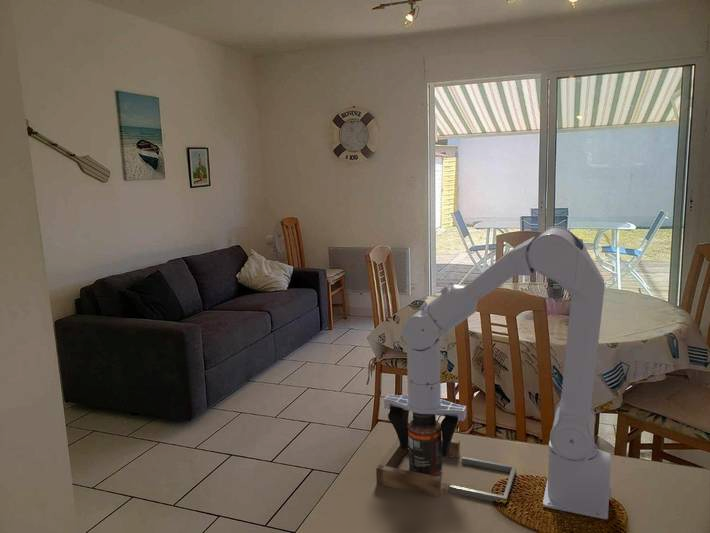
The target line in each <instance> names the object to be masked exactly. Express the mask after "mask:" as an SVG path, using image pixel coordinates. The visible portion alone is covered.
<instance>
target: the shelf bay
mask: <svg viewBox="0 0 710 533" xmlns="http://www.w3.org/2000/svg"><path fill="white" fill-rule="evenodd" d="M441 439H442V436H441ZM460 441H461V440H460V439H456V438H455V439H453V438H452V440H451V443H450V449H449V453H448V455H447V457H450V456H453V457H452V458H455V457H456V458H457V459H459V458H458V457H460V455H461V449H460V448H461V446H460V445H461V442H460ZM408 448H409V444H408V445H407V446H406V448H405V449H401V446H400V442H399V439H398V438H397V439H396V440H395V442H394V443H393V445H392V446H391V447H390V449H388V452H387V453H386V454H385V456H383V458H382V459H381V460H380V462H379V463H378V465H377V466H376V468H375V471H376V472H375V473H376V485H380V486H383V487H389V488H393V489H397V490H402V491H407V492H412V493H416V494H421V495H425V496H428V497H429V496H430V497H435V498H440V496H441V494H442V491H441V490H442V488H441V487H442V484H441V483H442V482H441V478H442V477H441V476H438V475H436V476H432V475H427V474H422V473H417V472H412V471H410V470H407V469H402V468H396V467H397V466H398V464H399V462H400V461H401V460H402V458H403V457H404V455H405V453H407V451H408V450H409V449H408ZM406 450H407V451H406Z"/></svg>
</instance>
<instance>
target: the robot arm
mask: <svg viewBox="0 0 710 533" xmlns="http://www.w3.org/2000/svg"><path fill="white" fill-rule="evenodd" d="M535 272H537V273H538V274H540V275H542V276H543V277H545V278H547V279H549V280H551V281H554V282H555V283H557V284H558V285H559V286H560V287H561V288H562V289H563V290H565V292H567V293H568V294H569V296H570V304H569V314H568V315H569V316H568V327H567V335H566V336H567V337H566V343H565V355H564V364H563V365H564V367H563V374H562V384H561V385H562V386H561V394H560V402H558V404H557V405H556V407H555V410H554V419H553V423H552V429H550V434H549V441H548V463H547V464H548V466H547V467H548V469H547V479H546V483H545V489H544V495H543V499H542V506H543V507H545V508H549V509H553V510H557V511H558V510H559V511H563V512H567V513H573V514H578V515H582V516H586V517H592V518H597V519H601V520H608V519H609V505H610V504H609V502H610V500H612V487H610V486H611V485H610V483H611V462H612V460H611V458H612V457H611V456H612V453H610V452H606V451H603V450H601V449H599V448H598V445H597V444H596V443H595V424H596V418H597V417H596V413H595V412H596V411H595V410H594V408H593V406H592V403H593V402H592V401H593V396H594V395H593V393H594V392H593V391H594V386H595V385H594V383H595V375H596V369H597V368H596V367H597V358H598V350H599V349H598V348H599V340H600V332H601V323H602V314H603V305H604V304H603V303H604V295H605V280H604V277H603V275H602V274H601V272H600V271H599V269H598V267H597V265H596V263H595V262H594V260H593V258H592V257H591V255H590V254H589V252H588V249H587V248H586V245H585V243H584V242H583V240H581V238H579V237H577V236H576V234H574V233H573V232H572V231H570V230H569V229H567V228H565V227H563V226H551V227H547V228H545V229H543V231H541V232H540V233H539V235H538V236H537V238H536V236H532V237H530V238H529V239H527V240H525V241H523V242H521V243H520V244H519V245H517V246H515V247H513V248H512V249H510V250H509V251H508V252H506V253H505V254H504V255H502V256H501V257H500V258H499V259H498V260H496V261H495V262H494V263H492V265H490V266H489V267H488V268H486V269H485V270H484V271H483V272H481V273H480V274H479V275H478V276H476V277H475V278H474V279H473V280H470V282H469V283H468V284H458V283H454V284H452V285H451V286H449V285H448V284H447V285H445V286H444V287H443V288H441V289H440V293H441V294H439V295H438V296H437V297H435V298H434V299H433V300H431V301H430V302H429V303H426V302H425V303H423V304H421V305H420V307H419V309H420V310H418V311H417V312H416V313H414V314H413V315H412V316H410V317H408V319H407V320H405V323H404V324H403V327H402V330H401V331H402V332H401V333H402V338H403V341H404V342H405V344H406V345H407V346H406V347H407V350H406V351H407V353H406V363H407V364H406V365H407V394H405V395H404V394H401V395H398V394H396V395H395V394H387V395H386V396H385V397H384V398H383V406H384V407H383V408H384V409H386V410H389V412H388V413H387V418H388V420H389V423H391V424H392V426H393V428H394V430H395V433H396V436H397V439H399V442H400V446H401V449H405V448H406V446H407V445H408V425H409V416H410V412H412V413H413V412H415V413H419V414H434V415H435V416H441V417H443V419H442V420H441V422H440V425H441V437H442V458H447V457H448V456H447V455H448V453H449V449H450V443H451V440H452V439H453V436H454V433H455V431H456V428H457V426H458V423H459V422H465V420H466V418H467V406H466V405H462V404H458V403H454V402H451V401H448V400H445V399H442V397H441V389H442V388H441V383H442V382H441V344H440V343H441V341H440V338H441V337H442V335H443V334H446V333H447V334H448V333H449V332H450V331H451V330H454V328H456V327H457V326H459V325H460V324H462V322H464V321H465V320H467V319H468V318H470V317H471V316H472V315H474V314H476V312H477V309H478V301H479V300H481V299H482V298H484V297H485V296H487V295H489V294H490V293H491V292H492V291H494V290H495V289H498V288H499V287H500V286H501V285H503V284H504V283H506V282H508V281H509V280H510V279H512V278H513V277H516V276H528V277H531V276H533V274H534V273H535Z"/></svg>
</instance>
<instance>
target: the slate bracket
mask: <svg viewBox="0 0 710 533" xmlns="http://www.w3.org/2000/svg"><path fill="white" fill-rule="evenodd" d="M461 464H464V465H469V466H476V467H480V468H486V469H490V470H491V469H492V470H497V471H502V472H505V473H506V472H507V473H509V476H508V480H507V483H506V486H505V489H504V492H503V495H501V494H497V493H492V492H486V491H481V490H477V489H474V488H473V489H472V488H468V487H462V486H458V485H453V484H448V486H447V493H452V494H457V495H461V496H465V497H471V498H476V499H480V500H484V501H489V502H493V500H497V499H498V500H499V499H500V500H507V497H508V494H509V491H510V492H511V490H510V488H511V489H512V487H511V485H512V486H513V483H514V480H513V479H515V476H516V472H517V466H516V465H511V464H510V465H509V464H506V463H505V464H504V463H499V462H494V461H489V460H485V459H484V460H483V459H477V458H472V457H466V456H462V457H461ZM512 482H513V483H512ZM509 495H510V494H509ZM508 498H509V497H508Z"/></svg>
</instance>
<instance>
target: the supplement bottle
mask: <svg viewBox="0 0 710 533" xmlns="http://www.w3.org/2000/svg"><path fill="white" fill-rule="evenodd" d="M441 437H442V431H441V422H439V421H438V420H437V417H436V415H434V414H419V413H415V412H412V419H411V420H410V421H409V422H408V444H409V449H408V465H409V466H408V468H409V471H412V472H417V473H422V474H427V475H432V476H438V475H439V474H441V472H442V470H443V457H442V439H441Z"/></svg>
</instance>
